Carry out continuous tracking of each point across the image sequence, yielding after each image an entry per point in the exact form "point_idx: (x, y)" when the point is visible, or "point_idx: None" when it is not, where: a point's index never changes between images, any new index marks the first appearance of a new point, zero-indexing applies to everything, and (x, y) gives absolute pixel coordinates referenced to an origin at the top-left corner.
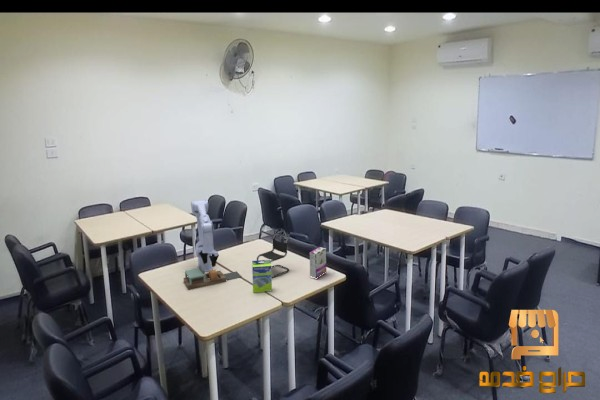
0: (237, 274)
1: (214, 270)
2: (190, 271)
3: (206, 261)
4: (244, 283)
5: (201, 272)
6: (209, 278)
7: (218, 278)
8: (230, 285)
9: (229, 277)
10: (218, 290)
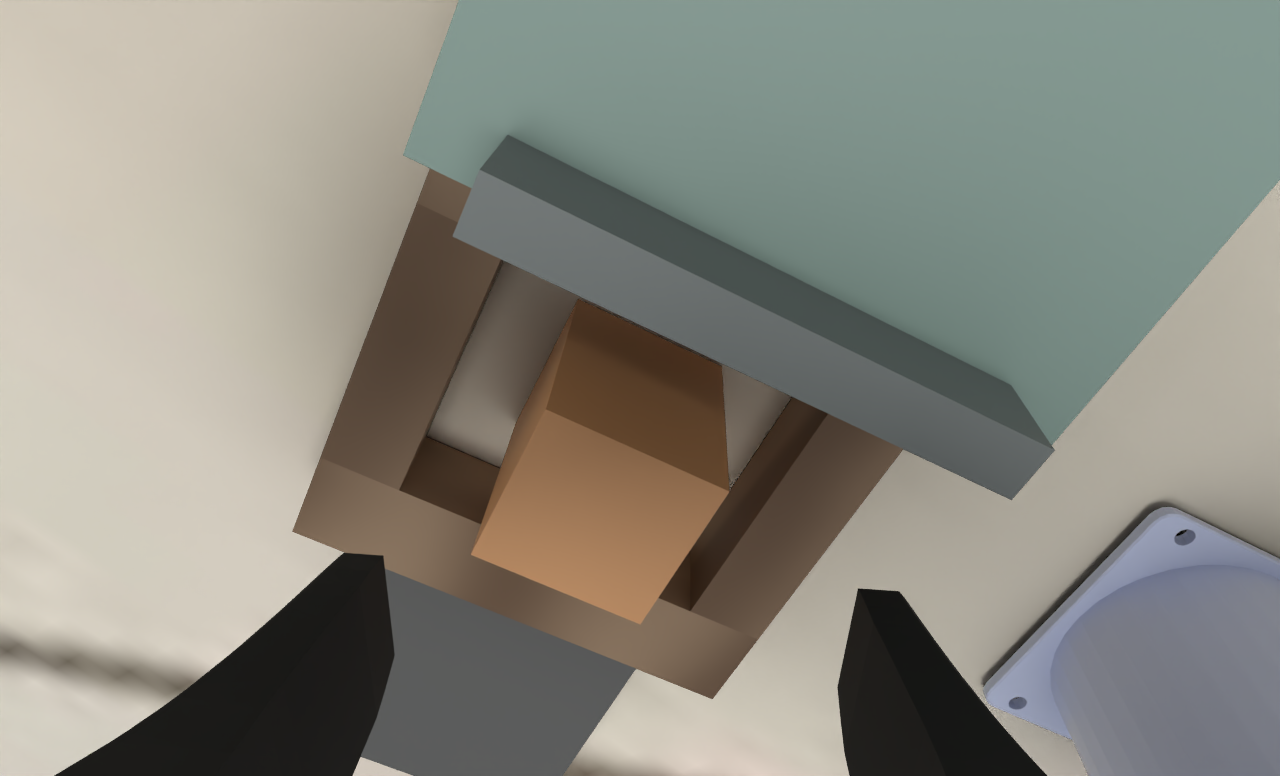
0: (414, 749)
1: (613, 582)
2: (1166, 26)
3: (852, 724)
4: (17, 583)
5: (687, 213)
6: (692, 370)
7: (389, 421)
8: (111, 401)
9: (418, 614)
10: (47, 77)
